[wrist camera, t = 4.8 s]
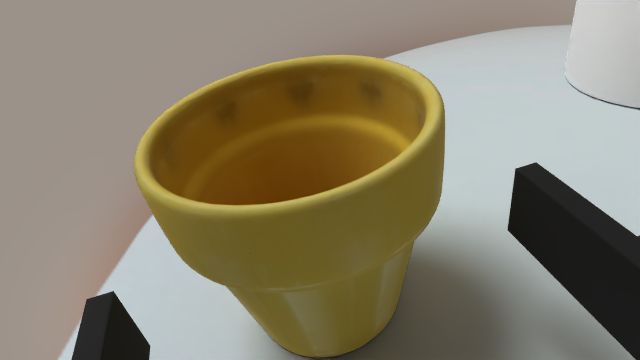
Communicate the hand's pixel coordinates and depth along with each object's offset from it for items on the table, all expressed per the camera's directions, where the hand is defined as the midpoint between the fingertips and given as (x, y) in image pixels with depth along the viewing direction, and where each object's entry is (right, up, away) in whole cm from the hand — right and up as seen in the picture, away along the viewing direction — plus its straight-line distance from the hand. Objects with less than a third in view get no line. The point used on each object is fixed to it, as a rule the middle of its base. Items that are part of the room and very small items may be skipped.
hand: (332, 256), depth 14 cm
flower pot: (0, -3, +6) cm, 7 cm away
